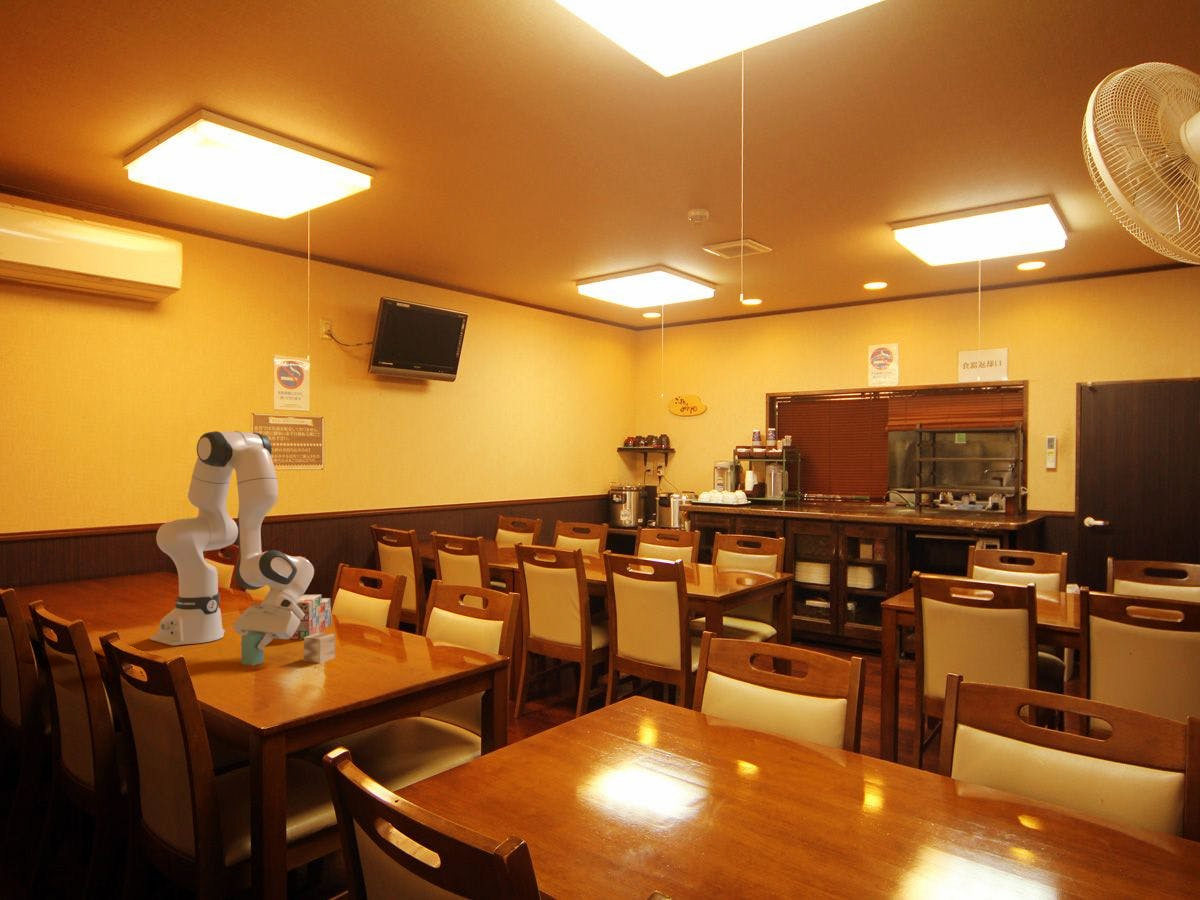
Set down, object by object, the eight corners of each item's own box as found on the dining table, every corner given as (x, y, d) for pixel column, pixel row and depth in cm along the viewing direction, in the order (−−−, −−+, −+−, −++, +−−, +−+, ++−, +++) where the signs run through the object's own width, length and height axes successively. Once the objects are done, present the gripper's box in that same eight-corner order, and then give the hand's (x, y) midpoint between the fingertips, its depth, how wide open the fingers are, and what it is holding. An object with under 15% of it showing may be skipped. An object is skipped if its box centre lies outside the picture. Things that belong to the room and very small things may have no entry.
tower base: (303, 661, 216) (303, 649, 216) (318, 656, 222) (318, 644, 222) (320, 663, 214) (320, 651, 214) (334, 658, 220) (334, 646, 220)
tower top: (303, 649, 216) (303, 637, 216) (318, 644, 222) (318, 632, 222) (320, 651, 214) (320, 639, 214) (335, 646, 220) (335, 634, 220)
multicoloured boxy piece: (313, 624, 262) (313, 589, 262) (331, 624, 262) (331, 589, 262) (289, 640, 241) (289, 601, 241) (309, 640, 241) (309, 601, 241)
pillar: (241, 664, 213) (241, 635, 213) (252, 660, 217) (252, 632, 217) (252, 665, 212) (252, 637, 212) (263, 661, 216) (263, 633, 216)
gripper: (245, 598, 225) (217, 638, 216) (298, 603, 217) (271, 645, 208) (256, 610, 229) (230, 650, 220) (309, 615, 221) (283, 657, 212)
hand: (250, 647), depth 214 cm, fingers open, 4 cm apart
